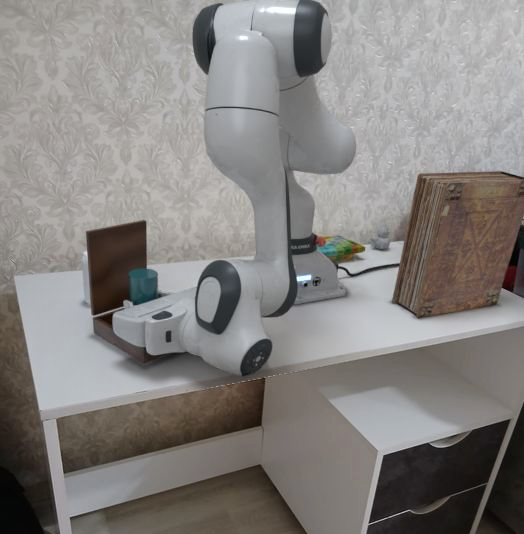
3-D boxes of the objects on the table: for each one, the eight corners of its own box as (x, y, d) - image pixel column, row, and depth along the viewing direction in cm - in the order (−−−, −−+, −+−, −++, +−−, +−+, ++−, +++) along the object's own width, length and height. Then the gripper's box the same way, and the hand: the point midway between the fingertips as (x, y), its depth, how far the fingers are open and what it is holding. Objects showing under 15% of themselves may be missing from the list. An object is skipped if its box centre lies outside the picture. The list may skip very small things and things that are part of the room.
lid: (146, 220, 105) (130, 213, 107) (88, 232, 96) (72, 224, 99) (147, 299, 113) (132, 290, 116) (93, 316, 104) (78, 306, 107)
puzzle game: (284, 238, 154) (339, 232, 164) (282, 254, 156) (337, 247, 166) (308, 251, 146) (366, 244, 155) (306, 268, 148) (363, 259, 158)
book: (416, 318, 125) (447, 183, 110) (391, 302, 132) (417, 173, 118) (497, 304, 135) (534, 179, 121) (469, 290, 142) (502, 170, 128)
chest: (197, 345, 107) (197, 326, 105) (144, 367, 98) (143, 347, 96) (146, 318, 115) (146, 300, 113) (94, 336, 107) (92, 317, 105)
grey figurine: (393, 251, 167) (398, 225, 163) (374, 252, 165) (378, 225, 161) (383, 245, 171) (388, 219, 167) (365, 246, 169) (369, 220, 165)
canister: (156, 329, 109) (155, 267, 103) (161, 342, 105) (160, 278, 99) (130, 332, 108) (126, 269, 101) (133, 344, 103) (130, 279, 97)
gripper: (233, 292, 101) (183, 270, 109) (142, 324, 87) (92, 296, 95) (232, 323, 104) (183, 300, 112) (144, 359, 90) (95, 329, 98)
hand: (141, 298), depth 103 cm, fingers closed on canister, 5 cm apart
